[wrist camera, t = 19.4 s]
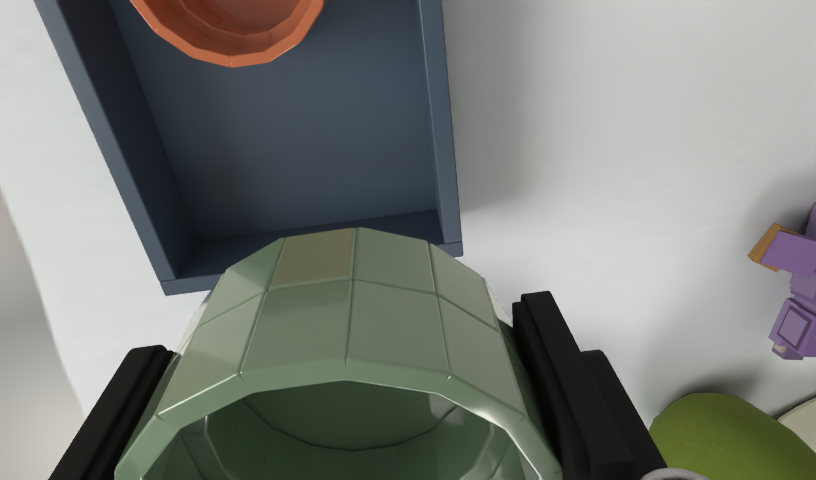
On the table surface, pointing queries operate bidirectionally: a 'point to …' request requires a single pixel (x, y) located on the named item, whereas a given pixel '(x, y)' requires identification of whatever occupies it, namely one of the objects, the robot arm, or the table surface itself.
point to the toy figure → (793, 287)
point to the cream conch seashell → (802, 422)
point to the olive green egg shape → (730, 440)
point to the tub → (268, 132)
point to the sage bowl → (345, 373)
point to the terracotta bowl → (232, 27)
